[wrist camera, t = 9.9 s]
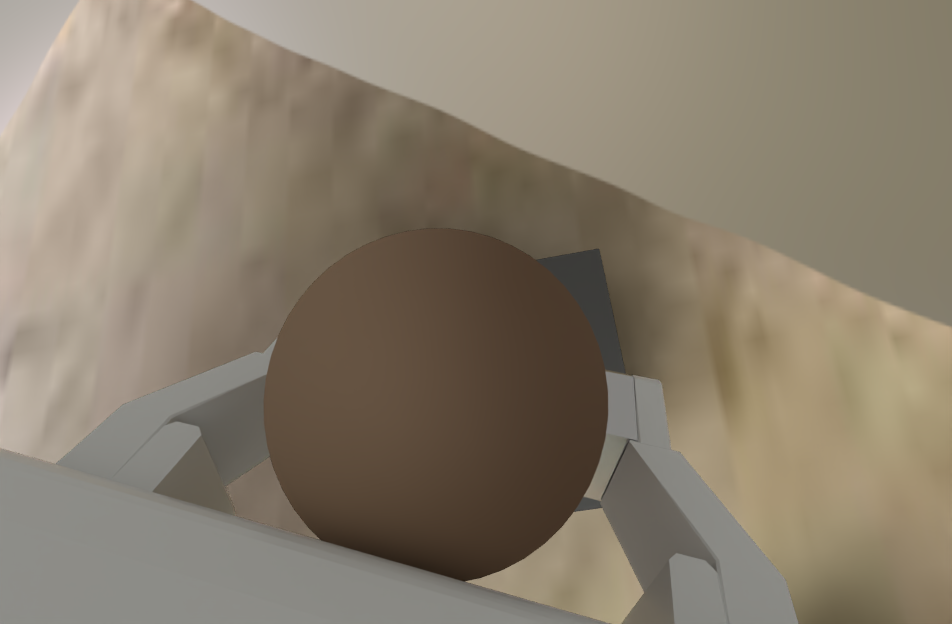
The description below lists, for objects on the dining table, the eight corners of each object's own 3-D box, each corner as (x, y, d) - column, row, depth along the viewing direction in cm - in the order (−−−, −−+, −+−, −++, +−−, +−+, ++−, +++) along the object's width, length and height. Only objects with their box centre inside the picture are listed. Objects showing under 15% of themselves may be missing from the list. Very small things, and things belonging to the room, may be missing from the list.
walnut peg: (438, 458, 15) (278, 607, 5) (421, 337, 16) (250, 260, 6) (561, 439, 15) (644, 556, 5) (538, 317, 15) (570, 199, 5)
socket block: (422, 503, 28) (395, 536, 22) (396, 309, 30) (365, 290, 24) (623, 474, 27) (652, 500, 21) (583, 276, 29) (599, 248, 23)
